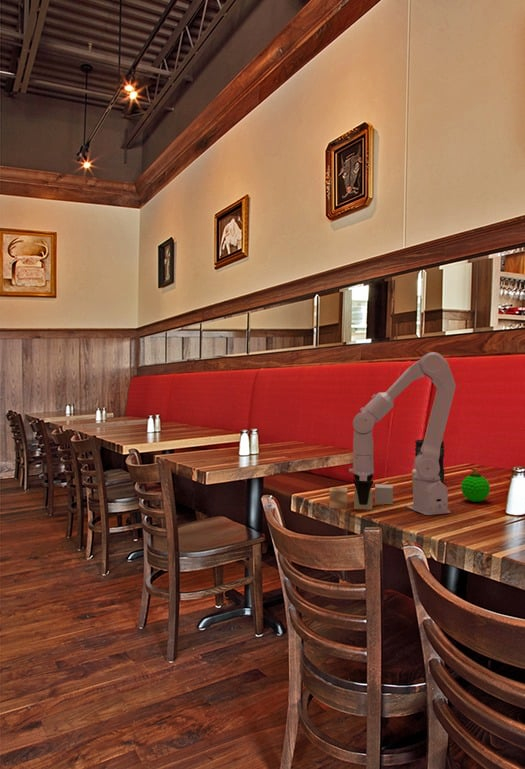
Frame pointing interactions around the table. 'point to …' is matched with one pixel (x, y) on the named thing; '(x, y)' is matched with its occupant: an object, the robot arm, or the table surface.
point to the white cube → (383, 494)
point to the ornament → (475, 487)
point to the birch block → (338, 498)
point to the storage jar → (441, 472)
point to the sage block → (358, 506)
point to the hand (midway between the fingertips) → (363, 501)
